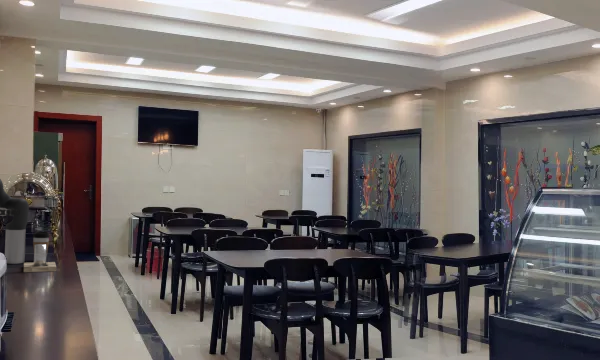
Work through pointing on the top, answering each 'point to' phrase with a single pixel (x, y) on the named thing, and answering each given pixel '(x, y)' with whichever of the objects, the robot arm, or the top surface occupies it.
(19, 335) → the top surface
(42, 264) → the grey cylinder
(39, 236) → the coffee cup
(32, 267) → the mounting board
